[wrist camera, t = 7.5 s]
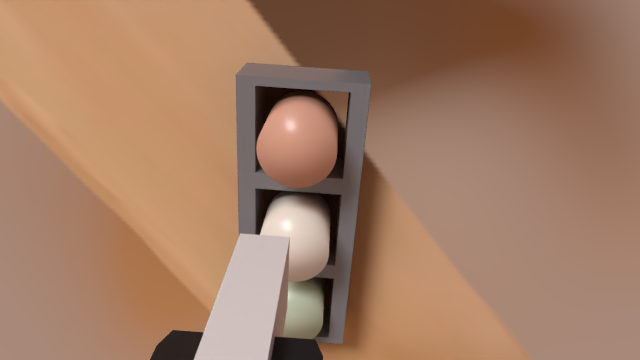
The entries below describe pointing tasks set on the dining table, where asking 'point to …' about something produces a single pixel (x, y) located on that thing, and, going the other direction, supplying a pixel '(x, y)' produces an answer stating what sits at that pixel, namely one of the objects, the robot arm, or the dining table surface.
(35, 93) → the dining table surface
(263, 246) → the robot arm
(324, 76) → the button panel
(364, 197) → the dining table surface
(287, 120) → the terracotta button
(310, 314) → the sage button
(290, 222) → the cream rounded dome
